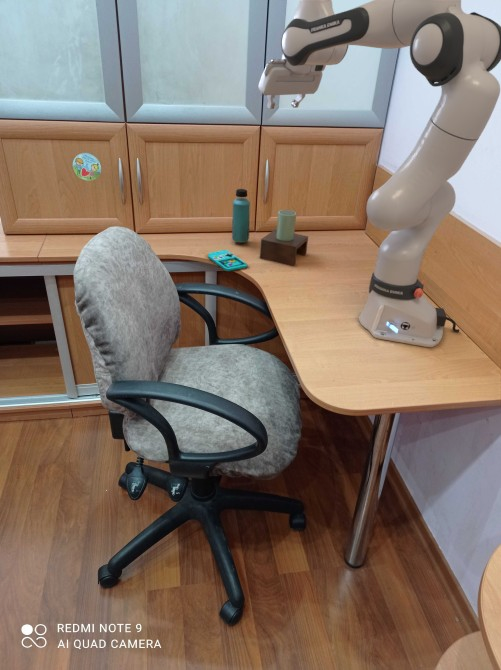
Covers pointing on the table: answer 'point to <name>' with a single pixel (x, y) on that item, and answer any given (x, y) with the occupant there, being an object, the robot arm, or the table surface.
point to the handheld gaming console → (227, 260)
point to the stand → (283, 248)
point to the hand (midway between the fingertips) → (282, 107)
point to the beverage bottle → (241, 217)
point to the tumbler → (286, 225)
